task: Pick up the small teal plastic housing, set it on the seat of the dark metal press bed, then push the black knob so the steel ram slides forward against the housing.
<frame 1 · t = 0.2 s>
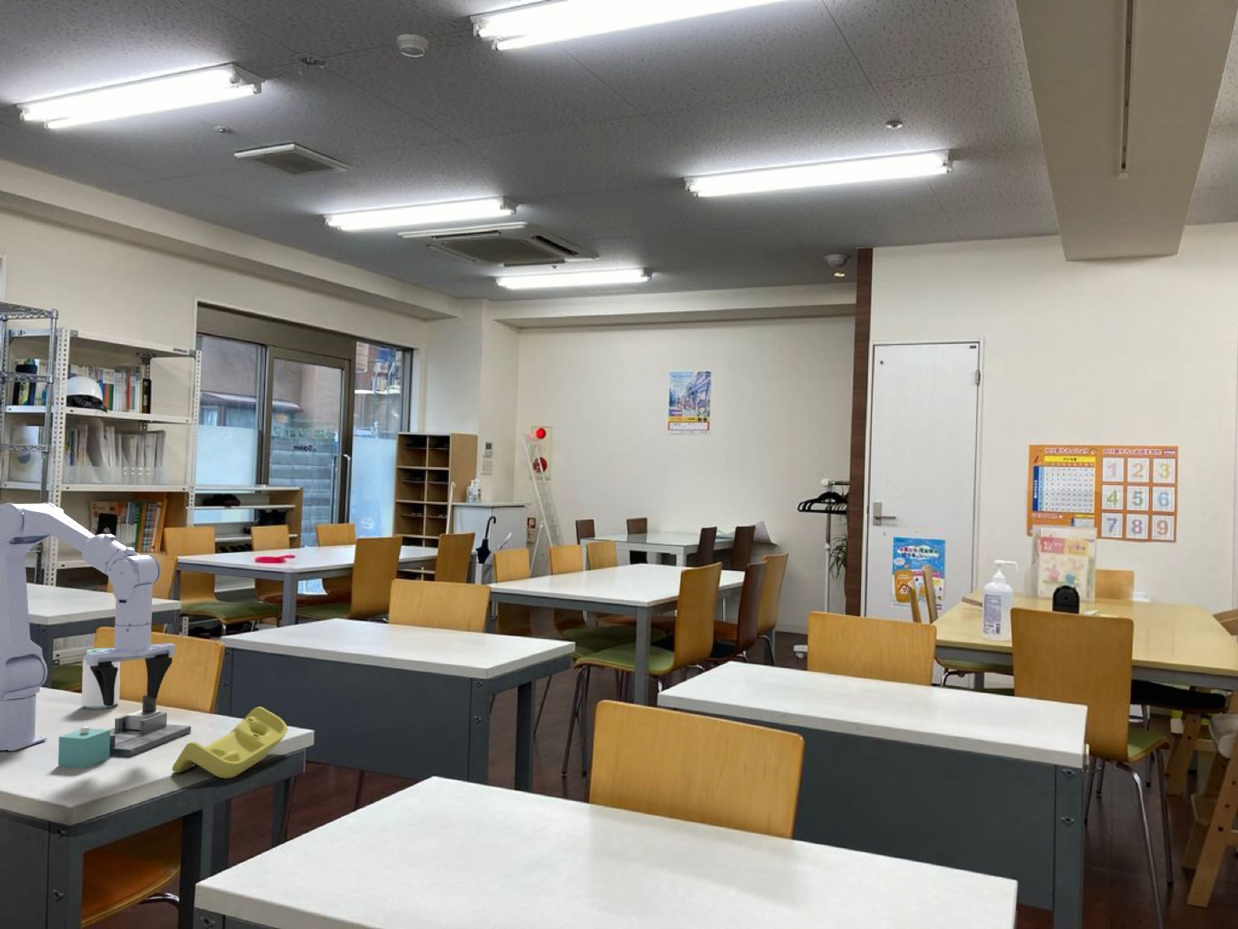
hand: (130, 701, 167), 10 cm above the table, tool pointing down, fingers open, 7 cm apart
press bed: (127, 743, 175), on the table
ram: (144, 711, 182), point 4 cm above the table, slide at 0.0 cm
housing: (84, 762, 163), on the table
can: (100, 707, 203), on the table
plastic component: (236, 764, 165), on the table
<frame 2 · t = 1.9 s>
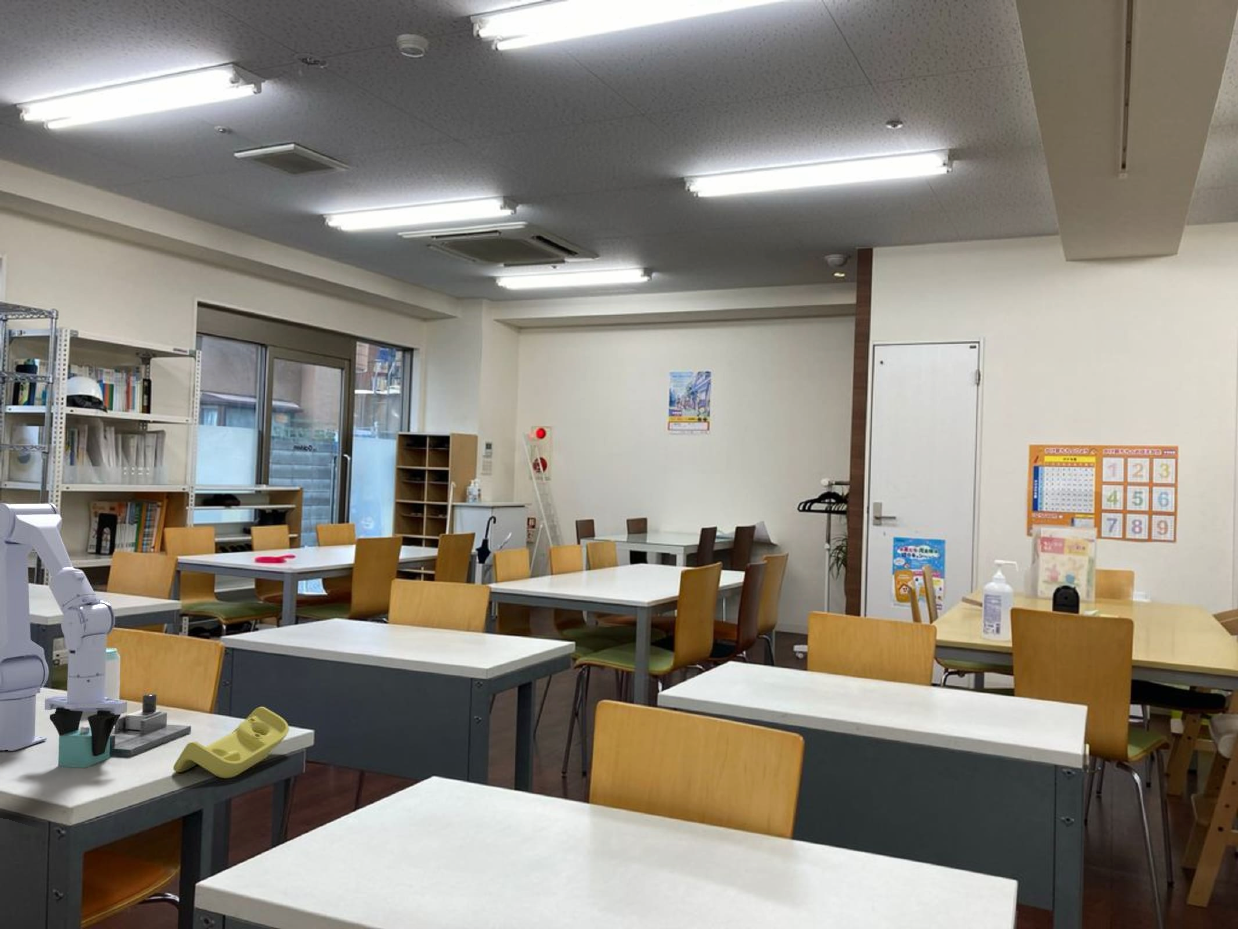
hand: (84, 753, 163), 1 cm above the table, tool pointing down, fingers closed on housing, 5 cm apart
housing: (84, 761, 163), on the table, touching gripper
everything else where it was.
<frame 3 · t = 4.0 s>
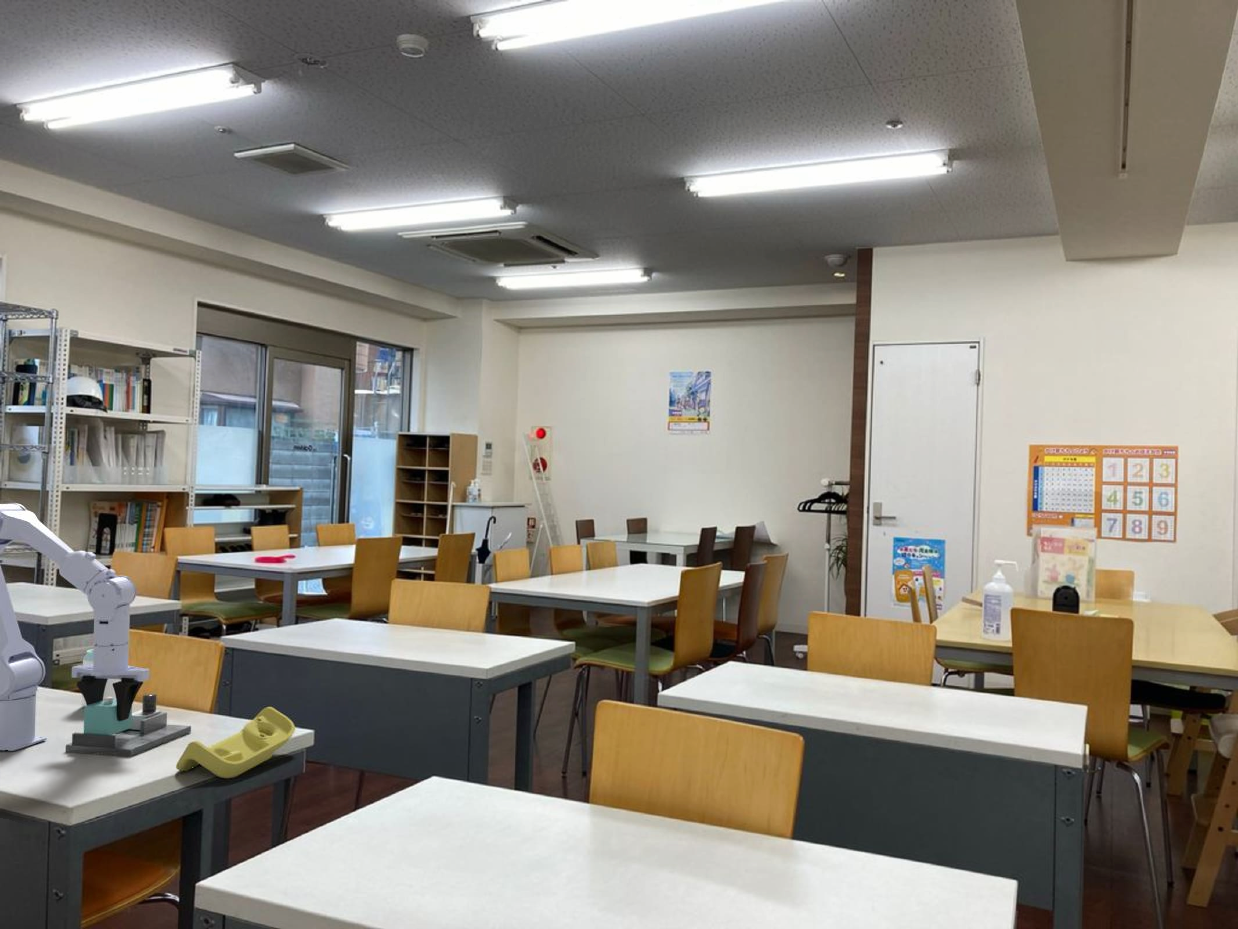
hand: (109, 718, 173), 5 cm above the table, tool pointing down, fingers closed on housing, 5 cm apart
housing: (107, 730, 172), point 3 cm above the table, touching gripper
when the fingers open (4 cm above the table, at t = 4.8 s): housing stays where it is, resting on press bed.
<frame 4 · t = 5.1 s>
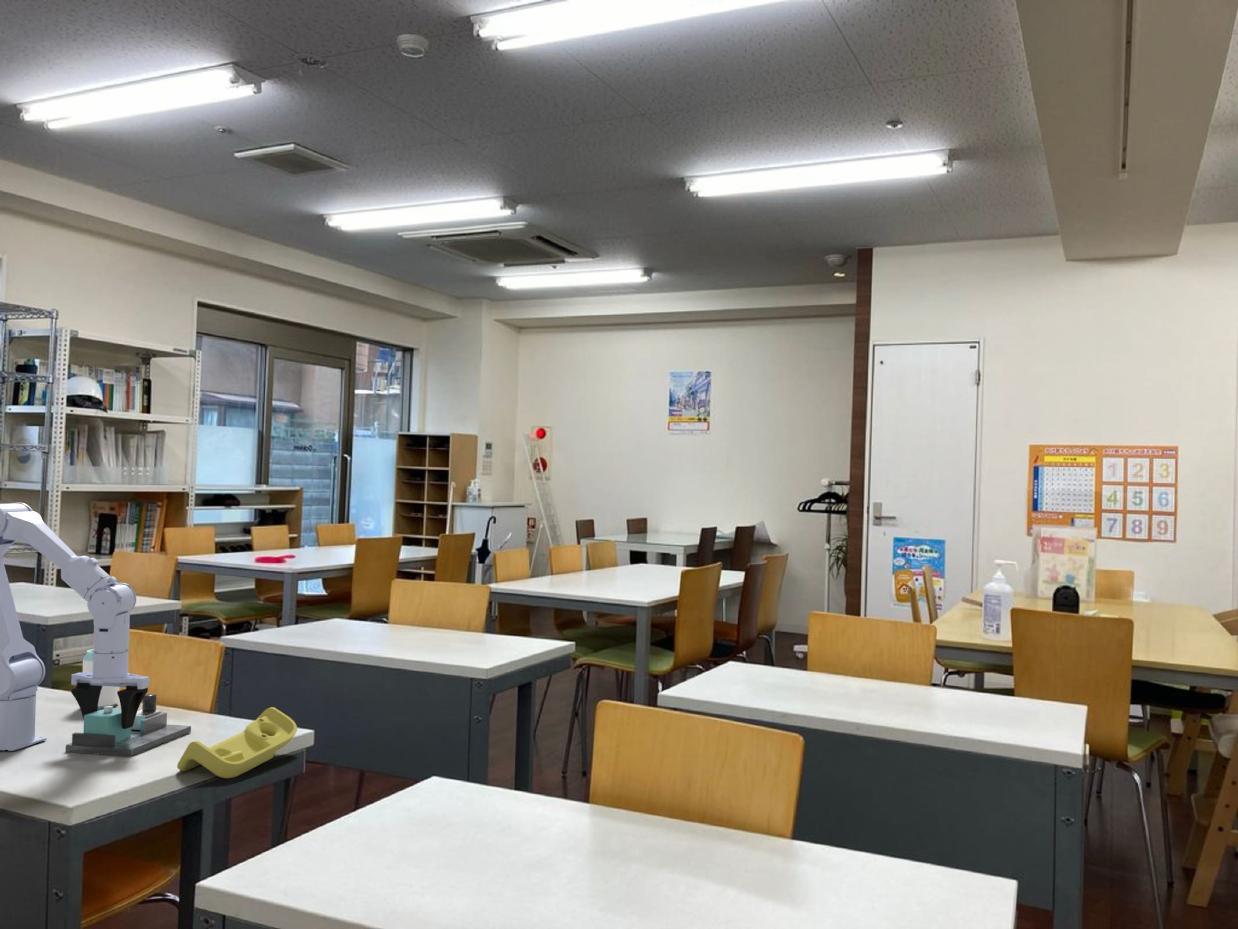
hand: (108, 726, 173), 4 cm above the table, tool pointing down, fingers open, 7 cm apart
housing: (107, 740, 172), point 1 cm above the table, touching press bed
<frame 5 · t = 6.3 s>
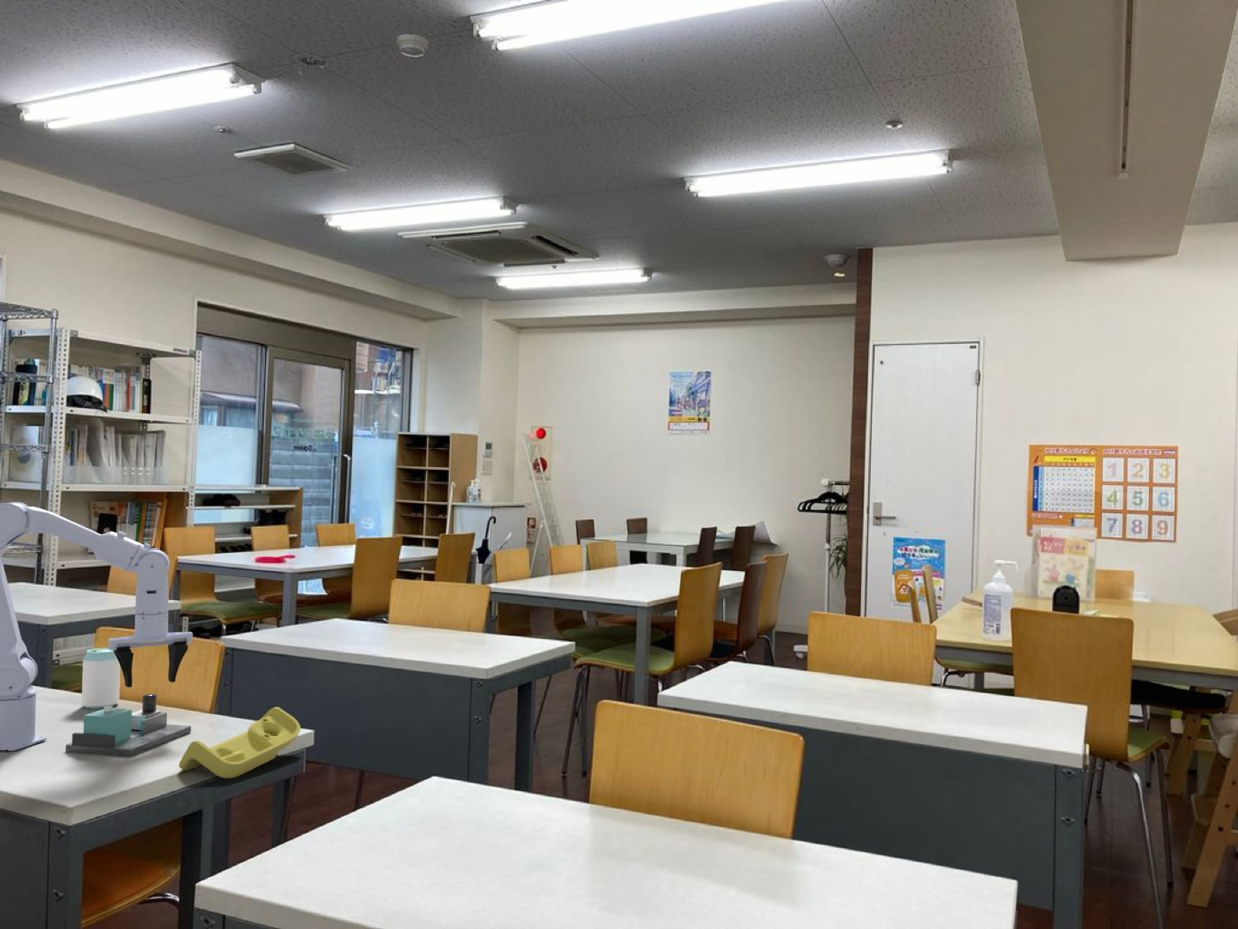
hand: (150, 684, 182), 10 cm above the table, tool pointing down, fingers open, 7 cm apart
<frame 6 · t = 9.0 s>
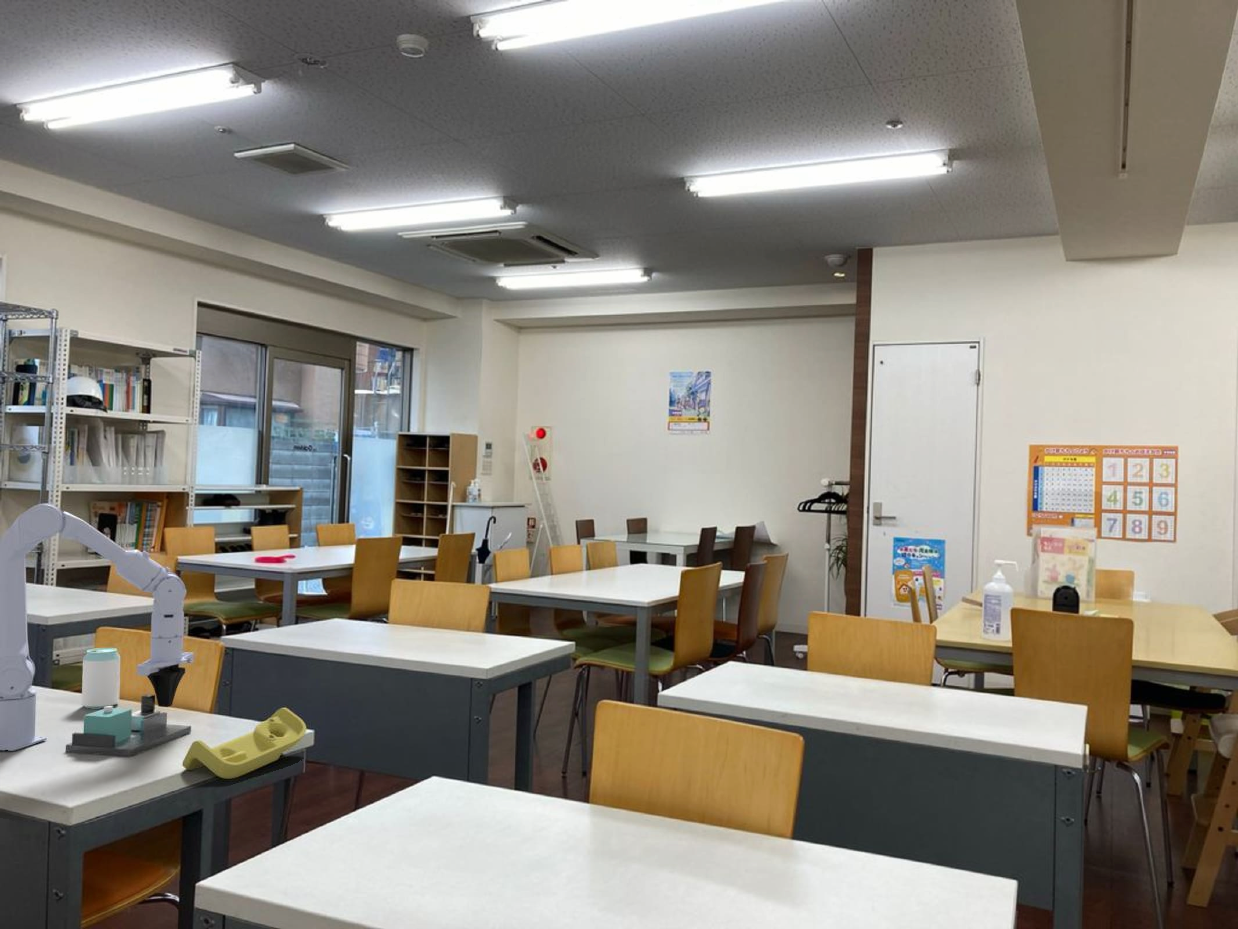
hand: (165, 706, 185), 5 cm above the table, tool pointing down, fingers closed
ram: (143, 711, 182), point 4 cm above the table, slide at 0.4 cm, touching gripper
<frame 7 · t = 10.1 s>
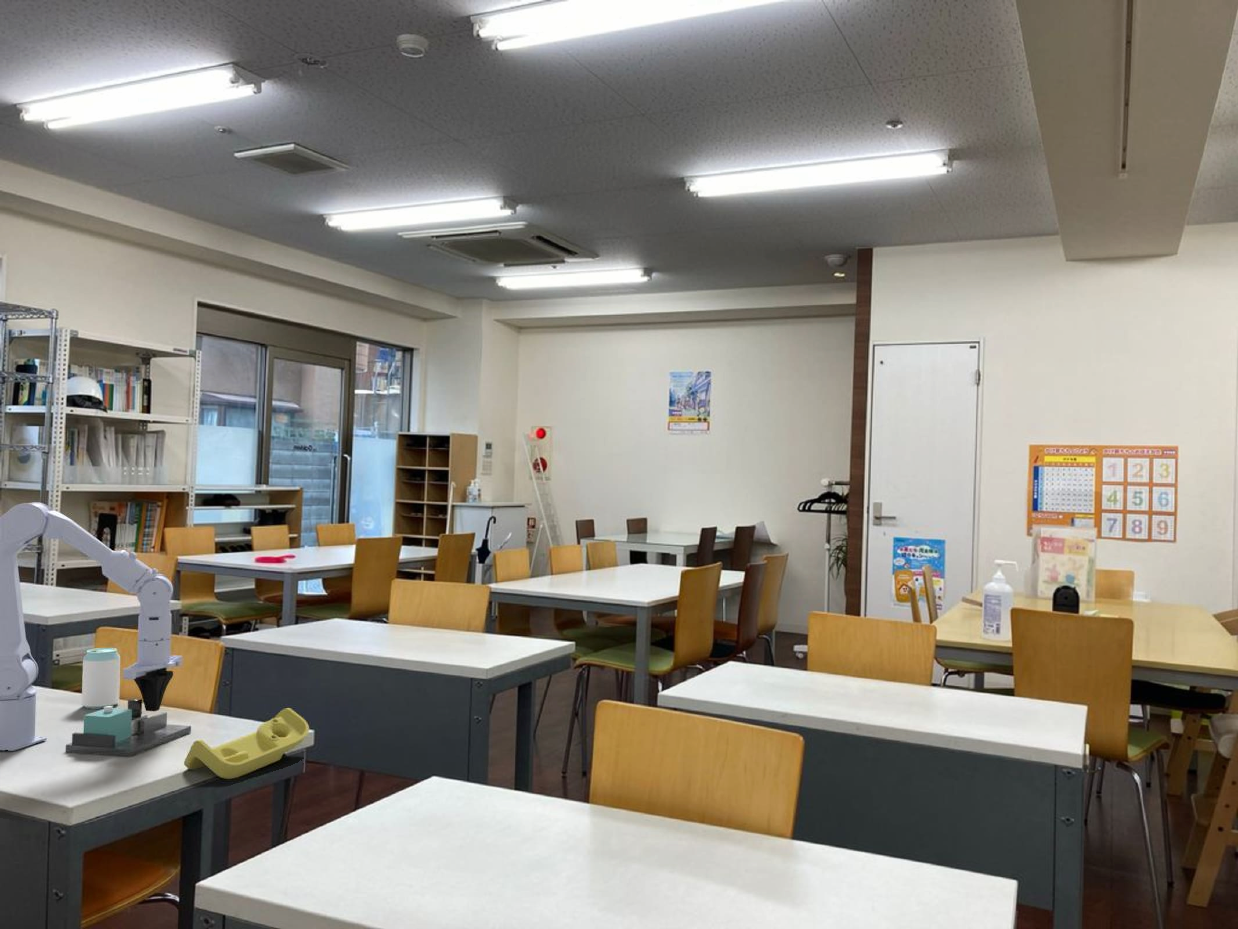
hand: (152, 710, 182), 5 cm above the table, tool pointing down, fingers closed
ram: (129, 716, 178), point 4 cm above the table, slide at 4.2 cm, touching gripper
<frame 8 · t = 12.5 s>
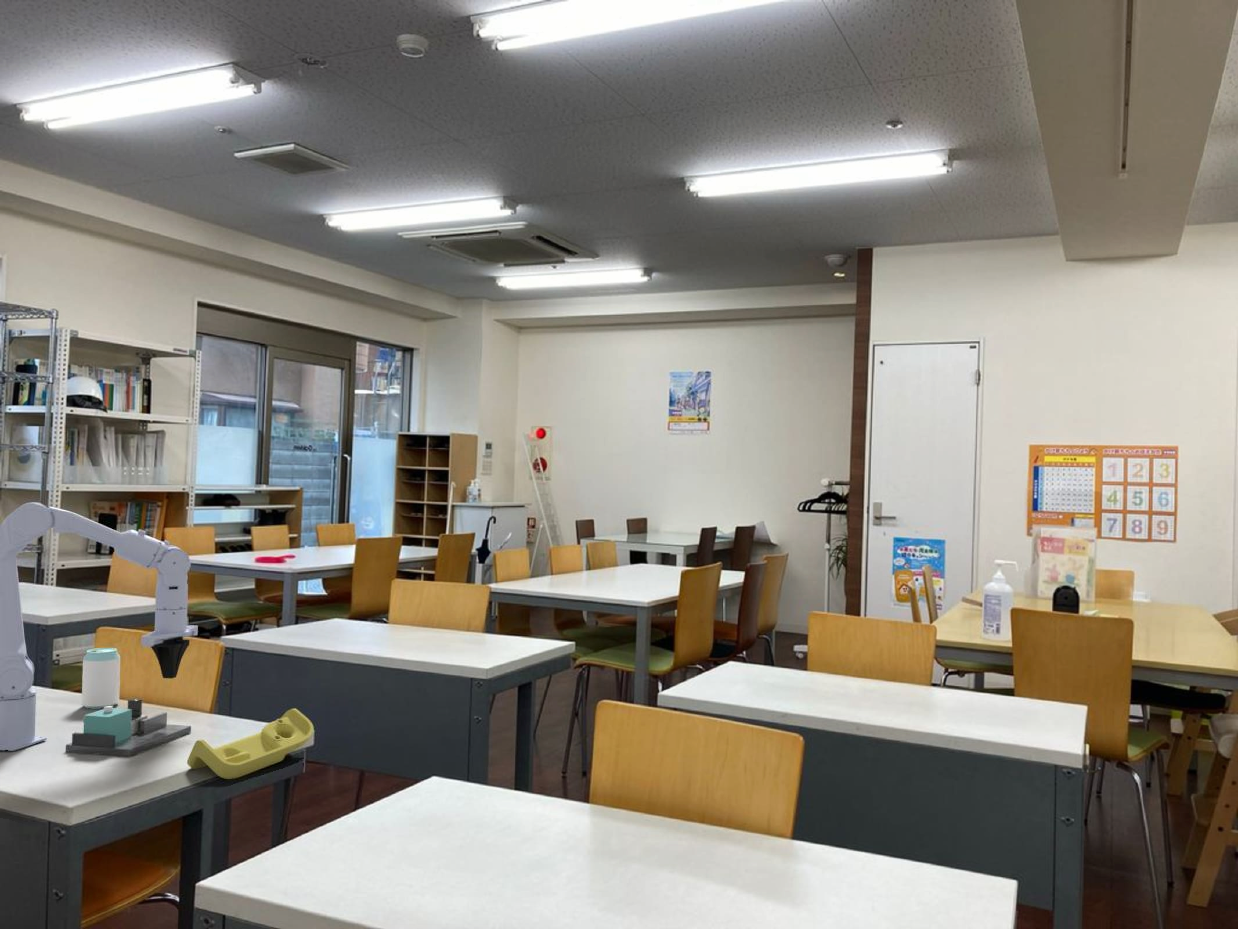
hand: (169, 677, 186), 10 cm above the table, tool pointing down, fingers closed
ram: (129, 716, 178), point 4 cm above the table, slide at 4.2 cm
at the end: housing 0.3 cm from the target spot on the press bed, point 1.3 cm above the press bed's base; ram slide at 4.2 cm; housing tilted 0° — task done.
